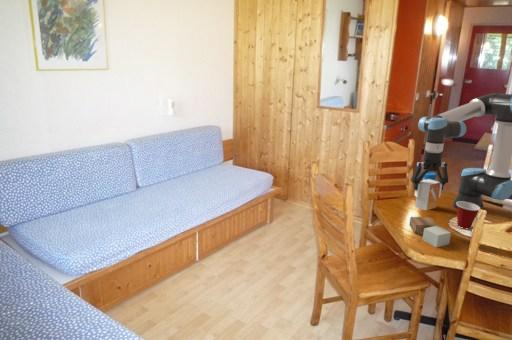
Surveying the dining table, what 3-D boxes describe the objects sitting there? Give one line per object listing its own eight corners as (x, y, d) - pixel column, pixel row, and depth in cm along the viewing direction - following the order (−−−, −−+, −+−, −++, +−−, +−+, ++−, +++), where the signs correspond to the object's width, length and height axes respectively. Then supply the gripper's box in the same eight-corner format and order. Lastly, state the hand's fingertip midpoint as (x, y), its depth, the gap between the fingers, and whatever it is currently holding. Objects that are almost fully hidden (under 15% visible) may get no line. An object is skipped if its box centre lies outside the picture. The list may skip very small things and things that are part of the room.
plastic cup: (476, 233, 186) (480, 210, 183) (451, 228, 192) (455, 205, 189) (477, 225, 195) (481, 203, 192) (453, 221, 201) (457, 199, 198)
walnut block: (429, 227, 194) (431, 217, 193) (436, 235, 184) (437, 226, 183) (409, 225, 195) (410, 216, 194) (414, 234, 186) (416, 224, 184)
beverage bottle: (416, 208, 218) (421, 174, 213) (417, 203, 226) (421, 170, 220) (433, 210, 215) (438, 176, 209) (432, 205, 222) (437, 172, 217)
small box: (426, 211, 182) (430, 184, 178) (414, 206, 187) (418, 181, 183) (436, 207, 186) (440, 182, 182) (424, 203, 191) (428, 178, 187)
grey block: (434, 237, 182) (436, 225, 181) (449, 244, 175) (451, 232, 174) (422, 240, 179) (424, 228, 178) (436, 247, 172) (438, 235, 171)
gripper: (413, 153, 175) (407, 199, 181) (461, 153, 176) (454, 199, 182) (406, 149, 182) (401, 193, 188) (452, 149, 183) (445, 193, 189)
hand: (427, 196), depth 185 cm, fingers closed on small box, 10 cm apart
